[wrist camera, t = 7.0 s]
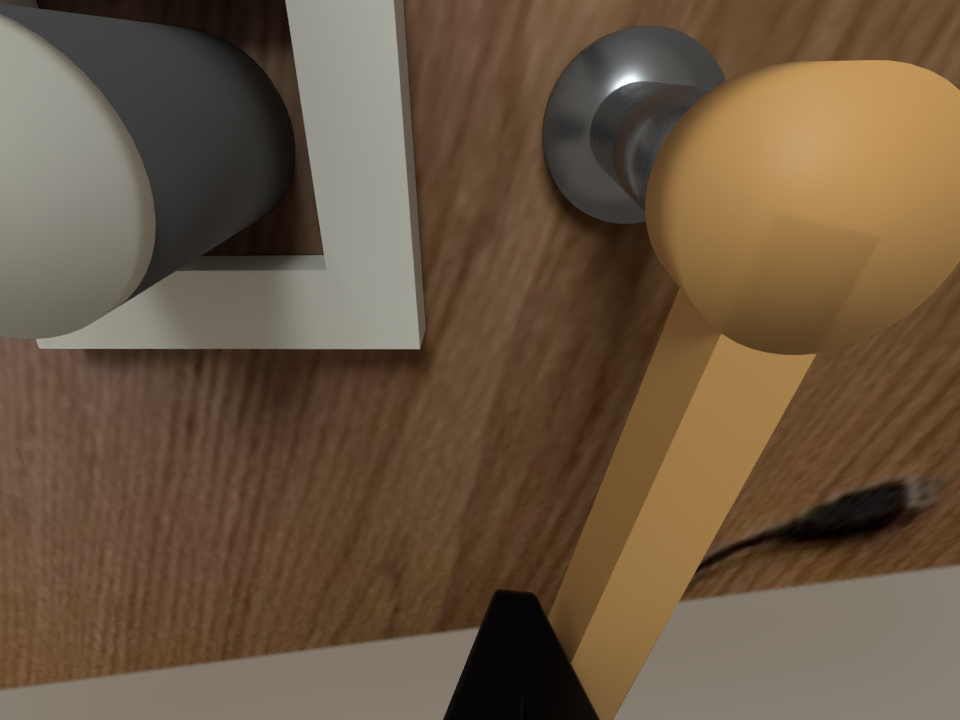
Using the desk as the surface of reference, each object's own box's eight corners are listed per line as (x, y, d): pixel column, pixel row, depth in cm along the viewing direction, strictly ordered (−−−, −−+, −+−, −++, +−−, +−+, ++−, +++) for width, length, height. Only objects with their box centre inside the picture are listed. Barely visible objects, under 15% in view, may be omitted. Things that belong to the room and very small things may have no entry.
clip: (450, 764, 12) (444, 846, 11) (696, 34, 6) (753, 25, 4) (568, 782, 12) (575, 864, 11) (939, 93, 6) (1062, 102, 4)
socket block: (-112, -133, 11) (-178, -155, 10) (392, -151, 11) (380, -176, 9) (71, 329, 16) (39, 348, 14) (425, 329, 15) (420, 348, 14)
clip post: (545, 29, 12) (594, -14, 6) (737, 25, 12) (1012, -25, 5) (539, 218, 14) (570, 346, 7) (704, 217, 13) (880, 346, 7)
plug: (77, 29, 12) (-304, -5, 6) (276, 24, 12) (66, -15, 6) (139, 229, 14) (-109, 338, 8) (308, 227, 14) (173, 339, 8)
